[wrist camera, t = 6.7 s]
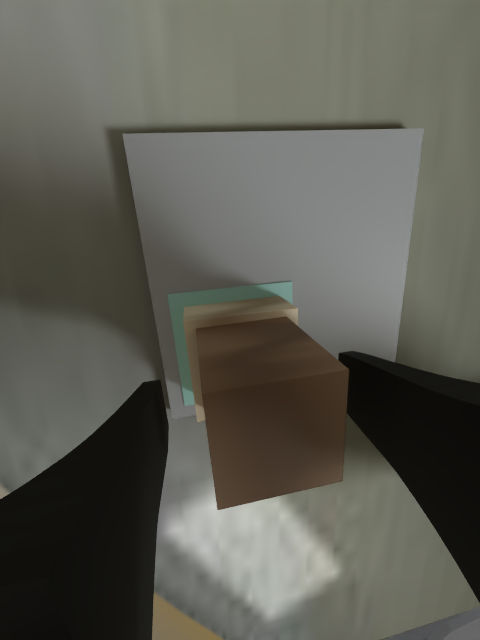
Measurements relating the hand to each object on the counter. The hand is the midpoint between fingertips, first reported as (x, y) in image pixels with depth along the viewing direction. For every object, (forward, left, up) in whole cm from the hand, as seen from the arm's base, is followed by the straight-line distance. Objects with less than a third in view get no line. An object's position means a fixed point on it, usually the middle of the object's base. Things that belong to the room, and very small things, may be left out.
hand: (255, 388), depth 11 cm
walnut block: (0, 0, -2) cm, 2 cm away
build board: (-3, -3, -5) cm, 7 cm away
